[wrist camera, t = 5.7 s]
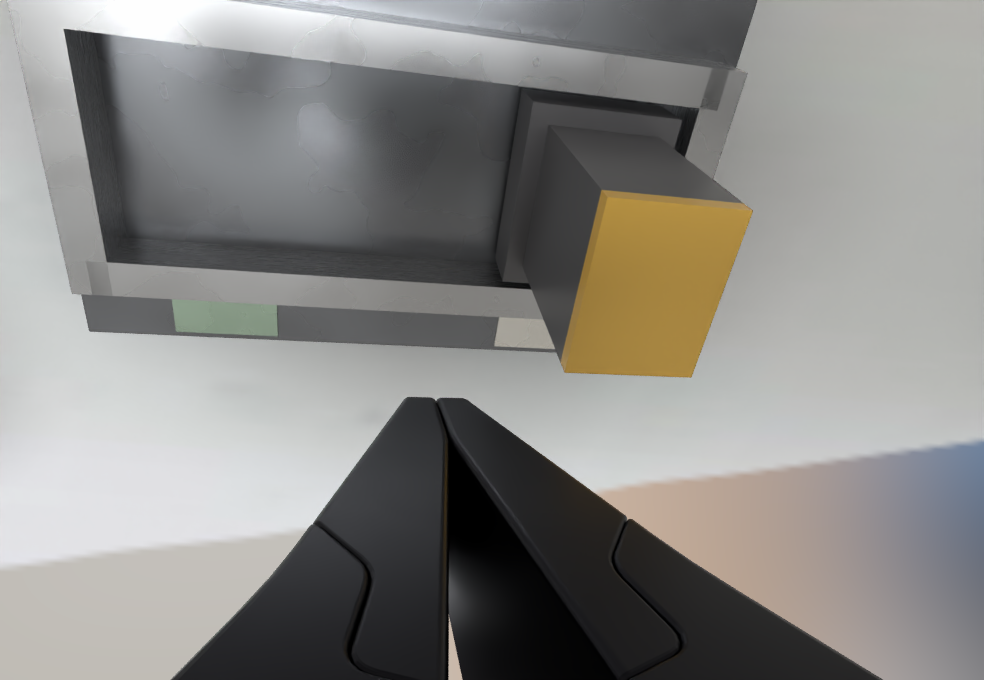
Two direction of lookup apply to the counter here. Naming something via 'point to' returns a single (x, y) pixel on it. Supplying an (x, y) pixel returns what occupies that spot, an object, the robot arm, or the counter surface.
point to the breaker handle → (615, 234)
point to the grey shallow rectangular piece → (332, 151)
